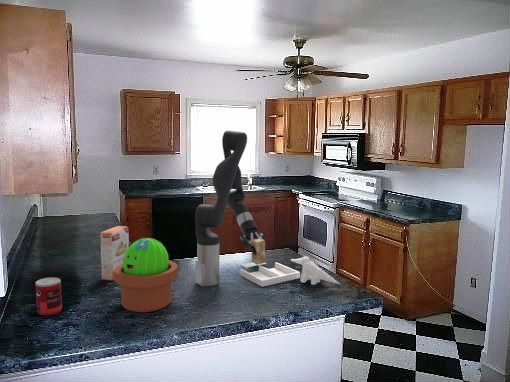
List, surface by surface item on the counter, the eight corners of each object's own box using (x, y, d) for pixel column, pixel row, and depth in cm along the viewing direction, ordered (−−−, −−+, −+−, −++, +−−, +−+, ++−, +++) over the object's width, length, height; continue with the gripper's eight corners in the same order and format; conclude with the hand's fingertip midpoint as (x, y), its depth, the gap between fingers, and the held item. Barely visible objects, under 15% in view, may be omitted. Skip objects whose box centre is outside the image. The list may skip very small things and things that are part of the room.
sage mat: (254, 272, 188) (254, 271, 188) (240, 265, 198) (240, 264, 198) (275, 268, 195) (275, 267, 195) (261, 261, 204) (261, 260, 204)
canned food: (42, 307, 147) (40, 277, 146) (65, 306, 148) (64, 277, 147) (32, 316, 140) (31, 285, 138) (57, 315, 140) (55, 284, 139)
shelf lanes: (262, 289, 167) (262, 280, 167) (239, 277, 181) (240, 269, 181) (299, 280, 178) (300, 272, 178) (276, 269, 192) (276, 262, 192)
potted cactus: (147, 288, 167) (145, 227, 164) (189, 299, 156) (188, 234, 153) (102, 306, 148) (99, 239, 145) (147, 321, 137) (145, 247, 134)
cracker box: (114, 281, 174) (112, 232, 172) (101, 280, 176) (99, 232, 173) (130, 270, 188) (129, 225, 185) (118, 269, 189) (116, 225, 187)
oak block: (257, 264, 193) (256, 241, 191) (252, 261, 197) (251, 239, 195) (265, 262, 195) (264, 240, 193) (260, 260, 199) (259, 238, 197)
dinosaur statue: (292, 274, 183) (295, 250, 181) (342, 291, 169) (346, 266, 167) (284, 278, 177) (287, 254, 175) (335, 297, 164) (339, 270, 162)
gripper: (237, 220, 196) (250, 251, 187) (261, 217, 204) (276, 247, 195) (231, 229, 201) (244, 259, 192) (255, 226, 209) (269, 255, 200)
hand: (260, 253), depth 194 cm, fingers closed on oak block, 4 cm apart
